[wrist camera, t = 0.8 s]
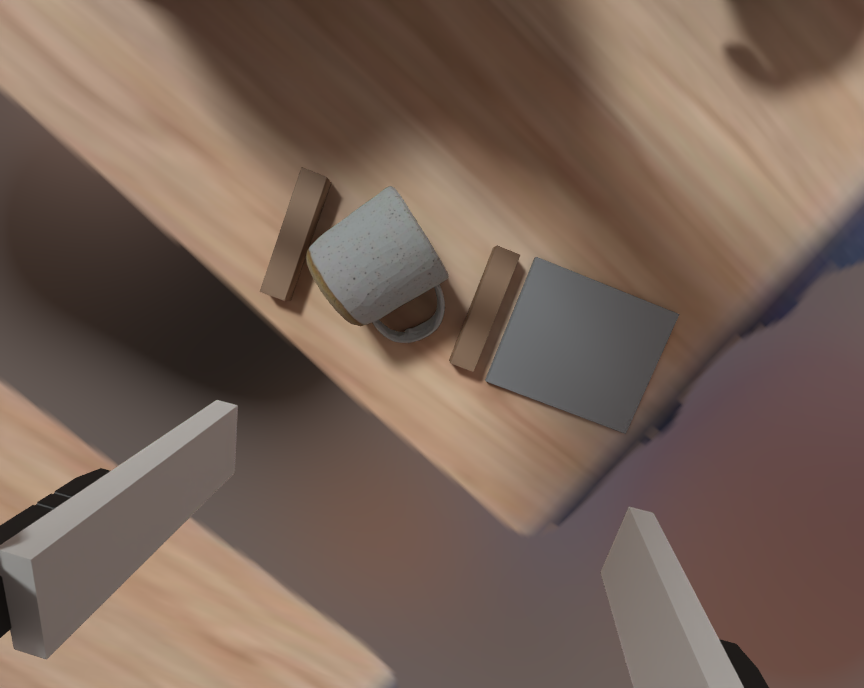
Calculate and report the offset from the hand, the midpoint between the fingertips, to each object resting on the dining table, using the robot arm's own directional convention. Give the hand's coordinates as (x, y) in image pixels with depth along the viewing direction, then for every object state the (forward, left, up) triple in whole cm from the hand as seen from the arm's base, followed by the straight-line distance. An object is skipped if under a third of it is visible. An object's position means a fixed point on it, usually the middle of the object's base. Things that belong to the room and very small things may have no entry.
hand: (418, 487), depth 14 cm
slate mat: (-7, +12, -22) cm, 26 cm away
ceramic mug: (-6, -5, -22) cm, 23 cm away
